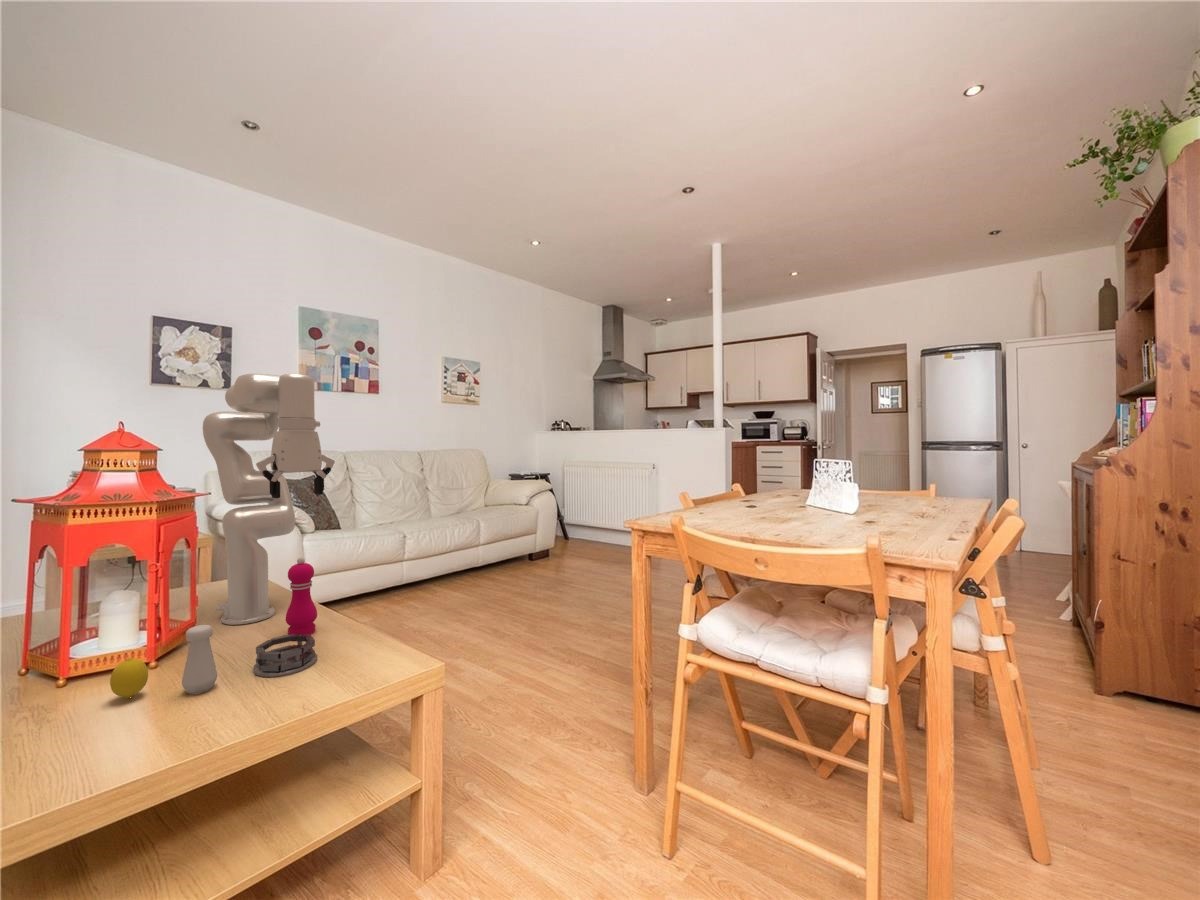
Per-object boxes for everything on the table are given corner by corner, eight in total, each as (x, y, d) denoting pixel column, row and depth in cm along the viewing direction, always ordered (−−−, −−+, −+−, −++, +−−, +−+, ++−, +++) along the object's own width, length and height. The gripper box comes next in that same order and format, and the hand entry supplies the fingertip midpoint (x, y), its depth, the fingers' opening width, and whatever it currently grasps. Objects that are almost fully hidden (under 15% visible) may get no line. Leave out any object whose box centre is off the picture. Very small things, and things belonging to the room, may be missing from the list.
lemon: (118, 694, 103) (117, 655, 102) (153, 689, 105) (152, 650, 105) (104, 707, 98) (103, 666, 97) (141, 702, 100) (140, 661, 99)
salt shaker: (178, 699, 101) (176, 634, 100) (185, 686, 106) (184, 624, 105) (214, 692, 103) (213, 629, 103) (220, 680, 109) (219, 620, 108)
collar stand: (239, 676, 110) (238, 654, 110) (278, 652, 123) (277, 632, 123) (295, 678, 110) (294, 656, 110) (328, 653, 122) (328, 633, 122)
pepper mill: (323, 628, 138) (322, 554, 137) (305, 639, 131) (304, 561, 130) (298, 627, 138) (297, 553, 138) (279, 637, 131) (278, 560, 131)
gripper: (326, 426, 133) (327, 491, 134) (250, 425, 119) (251, 498, 120) (340, 426, 129) (341, 493, 129) (262, 425, 115) (264, 500, 116)
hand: (297, 495), depth 125 cm, fingers open, 9 cm apart
